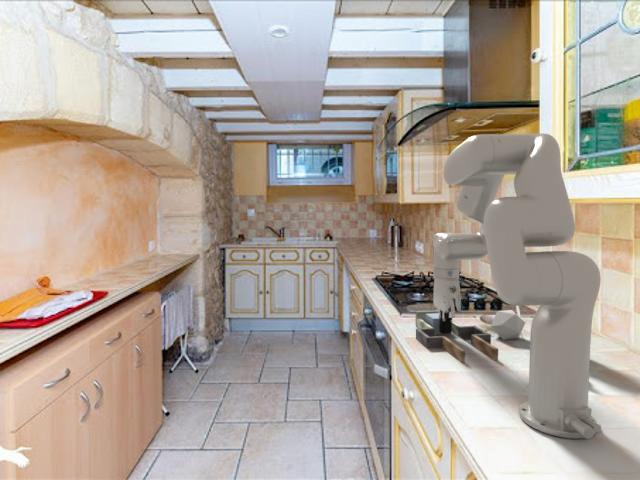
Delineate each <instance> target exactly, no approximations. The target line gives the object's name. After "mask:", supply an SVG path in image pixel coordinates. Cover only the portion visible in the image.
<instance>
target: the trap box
mask: <svg viewBox="0 0 640 480" xmlns="http://www.w3.org/2000/svg"><path fill="white" fill-rule="evenodd" d="M433 313H439V312H438V310H437V309H436V310H418V311H416V310H415V327H416V328H415V339H416V340H417V341H418V342H420V344H422V346H424V347H425V348H426V349H440V348H442V349H444V351H446V352H448V353H449V354H450V356H452V357H454V358H455V359H456V360H457V361H458V362H460V363H466V350H465V349H463V348H462V347H460V346H459V345H458V344H456V343H455V342H453V341H452V339H450V338H448V337H447V336H445V335H436V334H435V329H434V328H433V327H431V326H430V325H429V324H427V323H426V314H433ZM451 333H453V334H455V336H457V337H459V338H460V339H462V340H464V341H465V342H466V343H468V344H469V345H471V346H472V347H473V348H474V349H476V350H478V351H480V352H481V353H483V354H484V355H485V356H487V357H488V358H490V359H491V360H492V361H499V348H497V347H496V346H494V345H492V344H491V342H492V340H491V339H492V335H491V333H489V332H487V331H486V330H484V329H482V328H480V327H478V325H477V326H476V325H466V326H462V325H460V324H458V323H457V322H456V321H453V320H452V326H451ZM435 335H436V336H435Z"/></svg>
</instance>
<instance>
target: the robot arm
mask: <svg viewBox="0 0 640 480" xmlns="http://www.w3.org/2000/svg"><path fill="white" fill-rule="evenodd" d="M561 158H562V157H561V148H560V145H559V143H558V141H557V140H556V138H555V136H552V135H551V134H548V133H524V134H523V133H522V134H520V133H517V134H516V133H508V134H506V133H505V134H504V133H503V134H499V133H498V134H496V133H492V134H491V133H489V134H488V133H486V134H476V135H472V136H470V137H468V138H467V139H465V140H464V141H463V142H462V143H461V144H459V145H458V146H456V147H455V148H453V150H452V151H451V152H450V154H449V155H448V156H447V158H446V160H445V161H444V162H445V163H444V166H443V171H442V172H443V173H442V174H443V179H444V181H445V183H446V184H447V185H449V186H451V187H461V188H460V191H459V193H458V197H457V199H456V209H457V210H458V212H460V213H461V214H462V215H464V216H465V217H467V218H470V219H471V220H473V221H476V222H478V223H481V224H480V227H479V228H478V231H477V233H475V232H473V233H472V232H471V233H469V232H467V233H455V232H439V233H435V234H434V235H433V262H432V263H433V266H432V267H433V271H432V274H433V275H432V277H433V279H434V280H433V281H434V282H433V293H432V294H433V295H432V296H433V306H434V307H435V308H436V310H438V312H439V319H441V320H439V332H440V333H442V334H441V335H448V334H449V333H451V334H452V332H451V326H452V321H453V319H455V318H456V313H461V310H462V307H461V306H462V304H461V303H462V301H461V300H462V299H461V298H462V297H461V286H460V261H470V260H471V261H475V260H477V261H478V260H482V259H484V258H486V256H487V257H488V262H489V266H490V270H491V276H492V280H493V285H494V289H495V291H496V293H497V295H498V297H499V299H500V300H501V301H503V302H504V303H506V304H507V305H510V306H514V307H515V306H517V307H523V306H524V307H526V306H539V307H538V308H537V310H536V311H535V314H534V316H533V317H532V320H531V324H530V337H529V339H530V340H529V371H528V372H529V373H528V400H526V401H523V402H522V403H521V404H520V405H519V407H518V415H519V417H520V419H521V420H522V421H523V422H524V423H525V424H527V425H528V426H530V427H532V428H533V429H535V430H537V431H539V432H542V433H544V434H547V435H551V436H555V437H559V438H564V439H587V440H588V439H589V440H590V439H592V438H593V437H594V435H595V434H596V433H599V432H600V431H601V429H602V427H601V425H600V424H599V423H598V422H597V420H596V418H594V417H593V415H592V408H591V407H590V406H589V390H590V389H589V387H590V384H589V383H590V365H591V364H590V362H591V361H590V360H591V345H592V344H591V343H592V341H591V340H592V323H593V316H594V312H595V311H594V310H595V306H596V303H597V299H598V295H599V292H600V289H601V281H602V280H601V272H600V269H599V266H598V265H597V263H596V262H595V261H594V260H593V259H592V258H590V257H589V256H588V255H586V254H583V253H581V252H576V251H571V250H570V251H569V250H567V251H566V250H551V251H550V250H549V251H527V252H526V248H537V247H539V248H541V247H543V248H544V247H556V246H557V247H558V246H562V245H564V244H567V243H569V242H570V241H571V240H572V239H573V237H574V235H575V231H576V223H575V218H574V213H573V210H572V206H571V203H570V199H569V194H568V192H567V191H568V190H567V188H566V184H565V183H566V182H565V181H564V177H563V174H562V167H561V166H562V165H561V160H562V159H561ZM505 175H506V176H507V175H515V176H514V179H513V187H514V191H515V196H503V197H499V198H497V199H495V198H496V197H497V194H498V191H499V189H500V187H501V185H502V183H503V179H504V176H505ZM449 335H450V334H449Z"/></svg>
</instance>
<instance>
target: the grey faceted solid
mask: <svg viewBox="0 0 640 480" xmlns="http://www.w3.org/2000/svg"><path fill="white" fill-rule="evenodd" d="M525 325H526V322H525V320H524V319H522V318H521V317H520V316H519V315H518V314H517V313H516V312H515V311H514V310H512V309H510V310H509V309H508V310H506V309H505V310H497V311H496V313H495V315H494V318H493V319H492V322H491V324H490V326H489V327H490V329H492V330H493V331H494V333H496V334H497V336H499V337H500V338H501V339H502V340H503V341H507V340H516V339H519V338H520V336H521V334H522V331H523V329H524V328H525Z"/></svg>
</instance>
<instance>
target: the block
mask: <svg viewBox="0 0 640 480" xmlns="http://www.w3.org/2000/svg"><path fill="white" fill-rule="evenodd" d="M439 320H441V319H439V313H433V314H426V323H427V324H429V325H430V326H431V327H433V328H434V329H435V335H443V334H442V333H440V332H439ZM450 334H452V332H451V333H449V335H450Z"/></svg>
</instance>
